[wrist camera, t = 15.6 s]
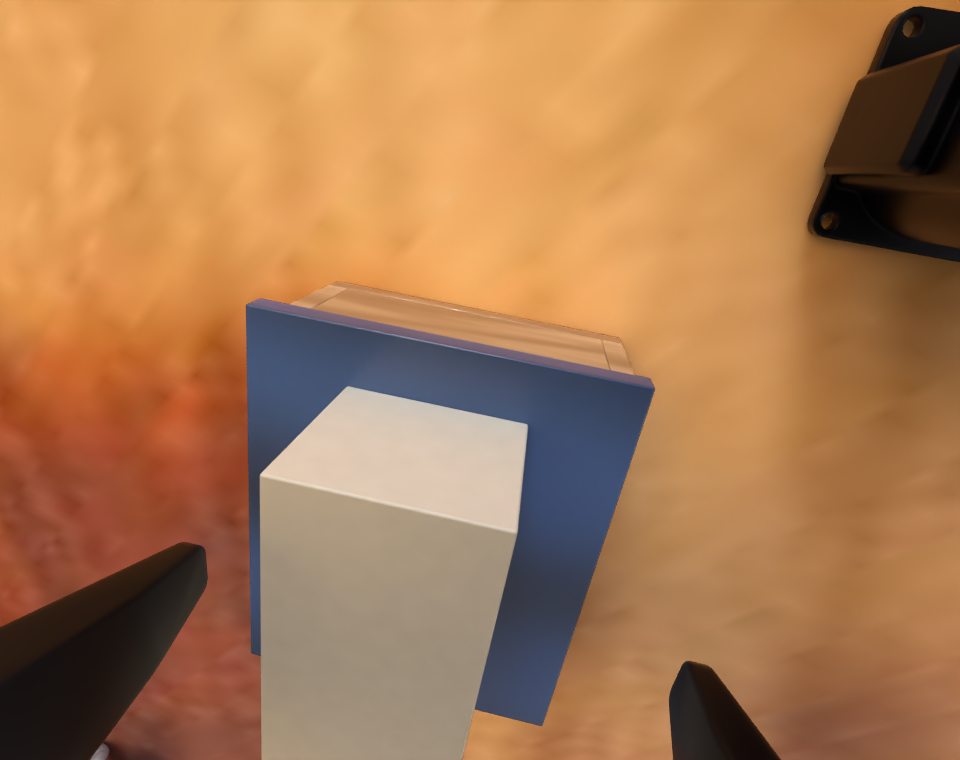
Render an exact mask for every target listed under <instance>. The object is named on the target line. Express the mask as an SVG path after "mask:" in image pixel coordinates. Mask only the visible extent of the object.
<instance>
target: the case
mask: <svg viewBox="0 0 960 760" xmlns="http://www.w3.org/2000/svg"><path fill="white" fill-rule="evenodd" d="M527 433H528V425H527V424H524V423H519V422H514V421H509V420H505V419H500V418H495V417H491V416H486V415H481V414H476V413H472V412H467V411H462V410H458V409H453V408H448V407H443V406H439V405H434V404H429V403H425V402H420V401H415V400H410V399H406V398H401V397H396V396H392V395H387V394H382V393H377V392H373V391H368V390H363V389H358V388H354V387H349V386H348V387H346V388H345V389H344V390H343V391H342V392H341V393H340V394H339V395H338V396H337V397H336V398H335V399H334V400H333V401H332V402H331V403H330V404H329V405H328V406H327V407H326V408H325V409H324V410H323V411H322V412H321V413H320V414H319V415H318V416H317V417H316V418H315V419H314V420H313V421H312V422H311V423H310V424H309V425H308V426H307V427H306V428H305V429H304V430H303V431H302V432H301V433H300V434H299V435H298V436H297V437H296V438H295V439H294V440H293V441H292V442H291V443H290V444H289V446H288V447H287V448H286V449H285V450H284V451H283V452H282V453H281V454H280V455H279V456H278V457H277V458H276V459H275V460H274V461H273V462H272V463H271V464H270V465H269V466H268V467H267V468H266V469H265V470H264V471H263V472H262V473H261V474H260V589H261V736H262V760H462V758H463V754H464V749H465V745H466V741H467V737H468V733H469V729H470V725H471V721H472V717H473V713H474V709H475V705H476V701H477V696H478V692H479V688H480V684H481V680H482V676H483V672H484V668H485V664H486V660H487V656H488V652H489V648H490V643H491V639H492V635H493V631H494V627H495V623H496V619H497V615H498V611H499V607H500V603H501V599H502V595H503V590H504V586H505V582H506V578H507V574H508V570H509V566H510V562H511V558H512V554H513V550H514V546H515V541H516V537H517V533H518V524H519V514H520V504H521V494H522V483H523V473H524V463H525V453H526V443H527Z"/></svg>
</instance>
